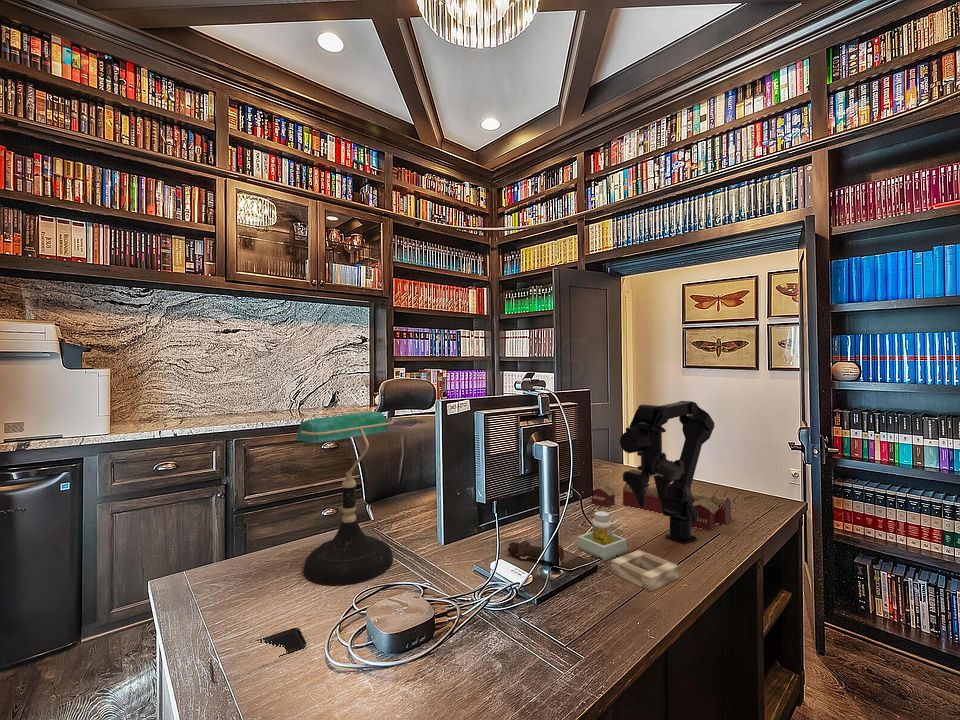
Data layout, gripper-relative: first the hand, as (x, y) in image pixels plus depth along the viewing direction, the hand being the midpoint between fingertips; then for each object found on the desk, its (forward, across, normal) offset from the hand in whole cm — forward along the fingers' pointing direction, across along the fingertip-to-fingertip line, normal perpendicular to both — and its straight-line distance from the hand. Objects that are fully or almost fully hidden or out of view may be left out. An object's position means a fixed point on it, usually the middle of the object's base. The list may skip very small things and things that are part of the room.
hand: (652, 503), depth 124 cm
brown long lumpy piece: (+14, -32, +14) cm, 37 cm away
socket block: (+13, -15, -8) cm, 21 cm away
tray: (+13, -12, +8) cm, 19 cm away
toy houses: (+14, +30, +19) cm, 38 cm away
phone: (+14, -99, +14) cm, 101 cm away
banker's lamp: (+13, -74, +41) cm, 86 cm away
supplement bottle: (+12, -12, +8) cm, 19 cm away
